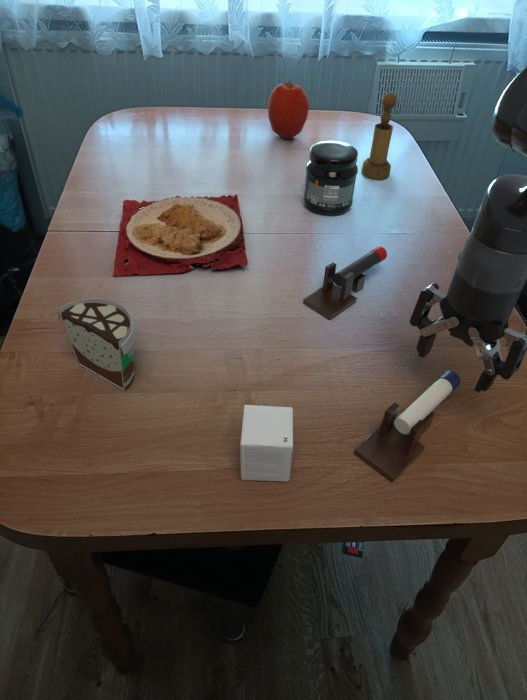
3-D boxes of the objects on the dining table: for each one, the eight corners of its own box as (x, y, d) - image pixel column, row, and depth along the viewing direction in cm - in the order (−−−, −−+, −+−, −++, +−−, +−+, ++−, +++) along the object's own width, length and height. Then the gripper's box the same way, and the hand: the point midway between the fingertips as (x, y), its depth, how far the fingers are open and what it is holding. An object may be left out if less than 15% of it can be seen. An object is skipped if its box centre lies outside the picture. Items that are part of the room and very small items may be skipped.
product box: (290, 442, 70) (294, 406, 65) (289, 483, 66) (294, 447, 61) (243, 440, 70) (243, 403, 65) (239, 480, 66) (239, 444, 61)
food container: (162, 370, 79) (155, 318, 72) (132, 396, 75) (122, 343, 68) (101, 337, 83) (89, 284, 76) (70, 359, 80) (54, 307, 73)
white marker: (441, 380, 75) (446, 367, 74) (457, 390, 74) (463, 377, 72) (391, 427, 69) (395, 414, 67) (408, 438, 68) (413, 426, 66)
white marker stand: (402, 408, 75) (412, 378, 71) (439, 433, 72) (452, 404, 68) (353, 453, 69) (361, 424, 65) (392, 483, 66) (402, 454, 62)
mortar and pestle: (355, 172, 127) (368, 92, 115) (373, 165, 131) (387, 86, 118) (377, 182, 124) (393, 101, 111) (395, 174, 127) (412, 94, 115)
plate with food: (237, 203, 115) (237, 187, 113) (248, 270, 97) (248, 253, 94) (124, 206, 113) (122, 191, 111) (112, 276, 94) (109, 259, 92)
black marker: (373, 256, 97) (376, 243, 95) (385, 262, 96) (388, 249, 94) (331, 283, 91) (333, 270, 89) (343, 290, 90) (345, 277, 88)
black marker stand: (343, 277, 97) (348, 249, 93) (370, 292, 94) (376, 263, 90) (302, 303, 91) (305, 274, 87) (329, 320, 88) (334, 291, 84)
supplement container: (330, 188, 121) (337, 135, 113) (362, 209, 115) (371, 154, 107) (292, 200, 116) (297, 145, 108) (323, 222, 110) (330, 166, 102)
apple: (266, 143, 137) (268, 85, 127) (267, 127, 144) (269, 71, 135) (306, 145, 137) (312, 87, 127) (305, 129, 144) (310, 73, 135)
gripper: (567, 286, 59) (513, 386, 70) (453, 233, 66) (421, 332, 77) (537, 315, 55) (485, 416, 66) (419, 256, 62) (390, 356, 73)
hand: (450, 370), depth 72 cm, fingers open, 8 cm apart
